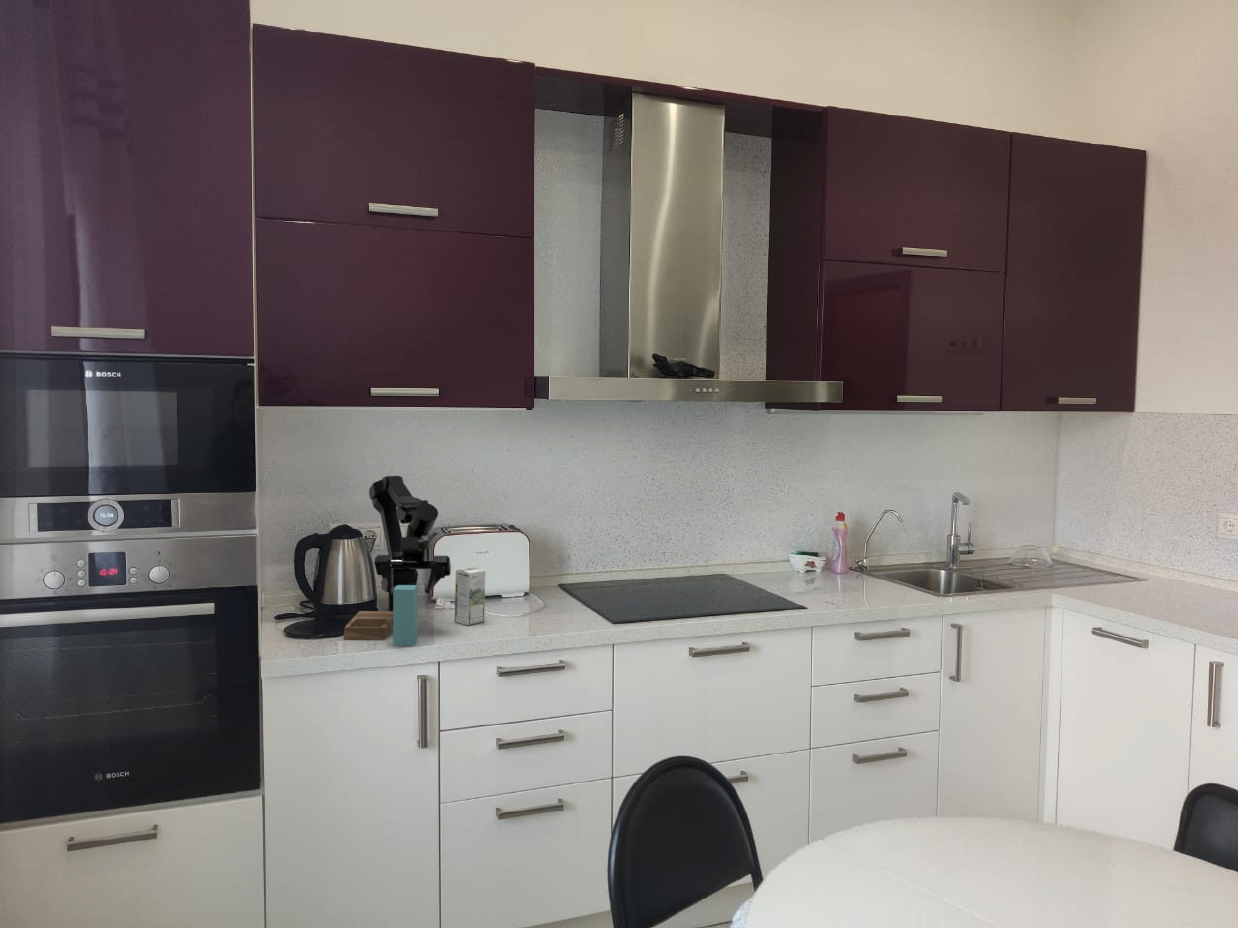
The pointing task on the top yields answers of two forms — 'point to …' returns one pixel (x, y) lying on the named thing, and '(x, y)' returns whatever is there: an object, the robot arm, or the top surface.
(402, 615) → the teal peg block
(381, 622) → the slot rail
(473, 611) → the syrup box
